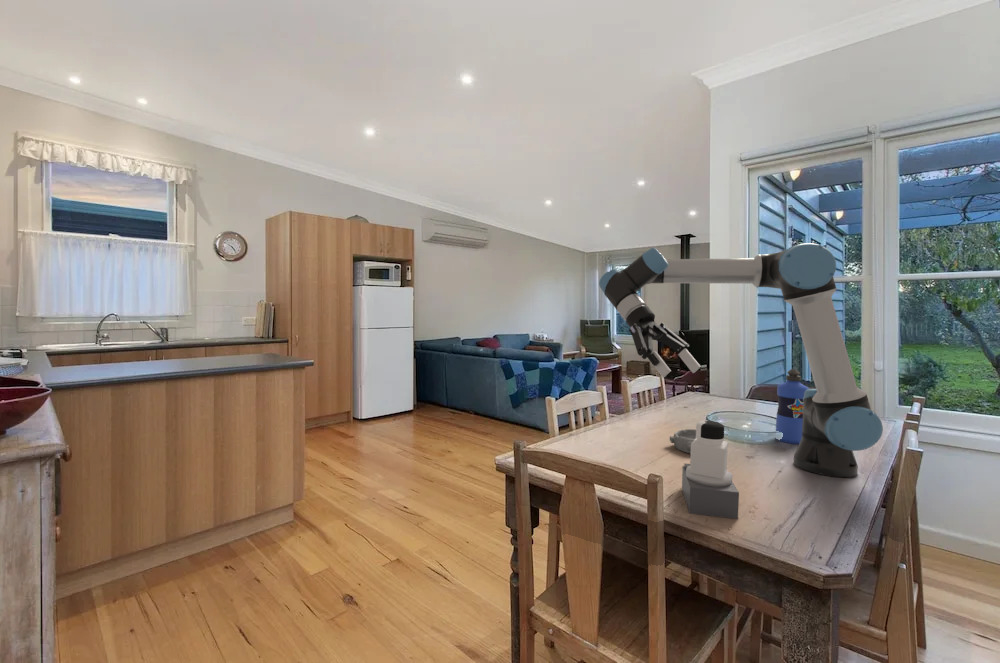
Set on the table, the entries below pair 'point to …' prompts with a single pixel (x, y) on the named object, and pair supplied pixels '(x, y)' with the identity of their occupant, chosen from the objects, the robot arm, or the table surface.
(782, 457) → the table surface
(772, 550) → the table surface
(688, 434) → the dish
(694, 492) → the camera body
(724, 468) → the medicine bottle
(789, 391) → the water bottle
